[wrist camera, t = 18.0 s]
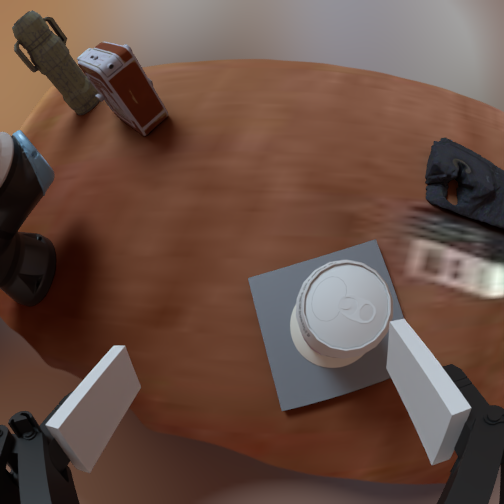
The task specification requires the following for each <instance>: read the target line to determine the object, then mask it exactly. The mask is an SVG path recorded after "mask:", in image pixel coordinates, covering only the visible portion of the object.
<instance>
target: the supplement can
mask: <svg viewBox="0 0 504 504" xmlns="http://www.w3.org/2000/svg"><path fill="white" fill-rule="evenodd" d="M296 318H297V322H298V325H299V328H300V332H301V334H302V336H303V338H304V340H305V342H306V343H307V344H308V345H309V347H310V348H311V349H312V350H314V351H315V352H317V353H318V354H320V355H323V356H328V357H334V358H341V359H345V358H351V357H356V356H361V355H363V354H365V353H366V352H368V351H370V350H371V349H373V348H375V347H376V346H377V345H378V344H379V343H380V341H381V340H382V339H383V338H384V336H385V335H386V334H387V332H388V330H389V322H390V321H392V318H393V299H392V296H391V293H390V290H389V288H388V285H387V283H386V282H385V281H384V279H383V278H382V277H381V276H380V275H379V273H378V272H377V271H376V270H374V269H372V268H371V267H369V266H367V265H365V264H364V263H362V262H356V261H351V260H340V261H333V262H329V263H327V264H325V265H323V266H321V267H319V268H318V269H316V270H314V271H313V272H312V274H311V275H310V276H309V277H308V278H307V279H306V280H305V281H304V282H303V284H302V287H301V289H300V292H299V294H298V296H297V301H296Z"/></svg>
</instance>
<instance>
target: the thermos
mask: <svg viewBox="0 0 504 504" xmlns="http://www.w3.org/2000/svg"><path fill="white" fill-rule="evenodd" d="M45 21H48V23H49V24H50V26H51V27H52V28H53V30H54V31H55V33H56V34H57V35H58V36H56V35H55V34H54V33H53V32H52V31H50V29H49V27H48V25H47V24H46V22H45ZM12 29H13V33H14V36H15V38H16V39H17V40H18V41H17V43H16V44H15V45H14V46H15V47H14V51H15V52H16V54H17V55H18V56H19V57H20V58H21V59H22V61H23V62H24V63H25V64H26V65H27V67H28V68H29V69H30V70H31V71H32V72H36V71H37V70H39V71H40V72H41V73H42V74H44V75H46V76H47V77H48V79H49V80H50V81H51V82H52V83H53V85H54V86H55V87H56V88H57V89H58V90H59V92H60V93H61V94H62V95H63V98H64V101H65V102H66V103H67V104H68V105H69V106H70V107H71V109H73V110H74V111H75V112H76V113H77V114H78V115H83V114H86V113H87V112H89V111H90V110H92V109H93V108H94V107H95V106H96V105H97V104H98V102H99V101H100V100H99V99H98V98H97V97H96V95H97V94H100V93H99V92H98V91H97V89H96V88H94V86H93V85H92V84H91V82H90V81H89V80H88V78H87V76H85V74H84V73H83V72H82V70H81V69H80V68H79V66H78V65H77V64H76V62H75V61H74V60H73V58H72V57H71V56H70V54H69V50H68V48H67V47H66V46H65V45H66V40H67V38H66V36H65V35H64V33H63V32H62V31H61V29H60V28H59V26H58V25H57V24H56V22H55V21H54V19H53V18H51V17H45V18H42V17H41V16H40V15H39V14H38V13H36V12H34V11H31V12H30V11H29V12H27V13H26V14H25V15H24V16H22V17H21V18H20V19H19V20H18V21H17V22H16V23H15V24H14V26H13V27H12ZM19 44H21V45H22V46H23V48H24V49H26V50H27V51H28V54H29V55H30V58H31V61H32V63H33V64H34V65H35V66H33V64H32V63H31V62H30V61H29V60H28V58H27V57H26V56H25V55H24V53H23V52H22V51H21V50H20V49H19Z"/></svg>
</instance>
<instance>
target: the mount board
mask: <svg viewBox="0 0 504 504" xmlns="http://www.w3.org/2000/svg"><path fill="white" fill-rule="evenodd" d="M340 260H351V261H356V262H362V263H364V264H365V265H367V266H369V267H371V268H372V269H374V270H376V271H377V272H378V273H379V275H380V276H381V277H382V278H383V279H384V281H385V282H386V283H387V285H388V288H389V290H390V293H391V296H392V299H393V318H392V321H395V320H400V319H404V318H403V314H402V311H401V308H400V305H399V302H398V299H397V296H396V293H395V290H394V287H393V284H392V282H391V279H390V276H389V273H388V270H387V268H386V265H385V262H384V260H383V257H382V254H381V252H380V249H379V247H378V244H377V242H376V239H375V240H372V241H369V242H366V243H363V244H359V245H356V246H353V247H350V248H347V249H343V250H340V251H337V252H334V253H331V254H327V255H324V256H321V257H318V258H314V259H311V260H308V261H304V262H301V263H298V264H294V265H291V266H288V267H284V268H281V269H278V270H274V271H271V272H268V273H264V274H261V275H257V276H254V277H251V278H248V280H249V284H250V288H251V292H252V296H253V300H254V304H255V308H256V312H257V316H258V320H259V324H260V328H261V332H262V336H263V340H264V343H265V347H266V351H267V355H268V359H269V363H270V367H271V371H272V375H273V379H274V382H275V386H276V390H277V394H278V398H279V402H280V405H281V409H282V411H285V410H289V409H293V408H297V407H301V406H305V405H309V404H313V403H316V402H320V401H323V400H327V399H330V398H334V397H337V396H340V395H343V394H346V393H350V392H353V391H356V390H359V389H362V388H365V387H367V386H370V385H373V384H376V383H379V382H381V381H384V380H387V379H389V378H391V377H390V375H389V373H388V371H387V369H386V366H387V354H388V341H389V330H388V332H387V334H386V335H385V336H384V338H383V339H382V340H381V341H380V343H379V344H378V345H377V346H376V347H375V348H373V349H371V350H370V351H368V352H366V353H365V354H363V355H361V356H356V357H351V358H345V359H341V358H334V357H328V356H323V355H320V354H318V353H317V352H315V351H314V350H312V349H311V348H310V347H309V345H308V344H307V343H306V342H305V340H304V338H303V336H302V334H301V332H300V328H299V325H298V322H297V318H296V301H297V296H298V294H299V292H300V289H301V287H302V284H303V282H304V281H305V280H306V279H307V278H308V277H309V276H310V275H311V274H312V272H313V271H314V270H316V269H318V268H319V267H321V266H323V265H325V264H327V263H329V262H333V261H340Z"/></svg>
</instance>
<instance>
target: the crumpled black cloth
mask: <svg viewBox="0 0 504 504" xmlns="http://www.w3.org/2000/svg"><path fill="white" fill-rule="evenodd" d="M425 178H426V182H425V183H427V184H428V186H427V187H426V190H427V192H426V195H427V196H426V199H427V200H428V201H429V202H430V203H431V204H434V205H436V206H437V205H438V206H440V207H442V208H447V209H448V210H451V211H453V212H456V213H458V214H460V215H463V216H466V217H468V218H472V219H474V220H479V221H481V222H486V223H488V224H490V225H494V226H497V227H499V228H503V229H504V171H503V170H502V169H500V168H498V167H497V166H495V165H494V164H493V163H491V162H490V161H488V160H486V159H485V158H483V157H481V155H479V154H477V153H475V152H473V151H472V150H470V149H467V148H465V147H464V146H462V145H460V144H457V143H456V142H453V141H452V140H449V139H447V138H441V141H439V142H437V141H434V145H432V146H431V154H430V156H429V159H428V164H427V171H426V176H425ZM454 179H455V180H456V181H457V182H458V188H457V199H458V204H457V205H452V204H451V203H450V202H448V201H447V199H446V197H447V189H448V184H447V183H449V181H451V180H454ZM430 185H432V186H430Z"/></svg>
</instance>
